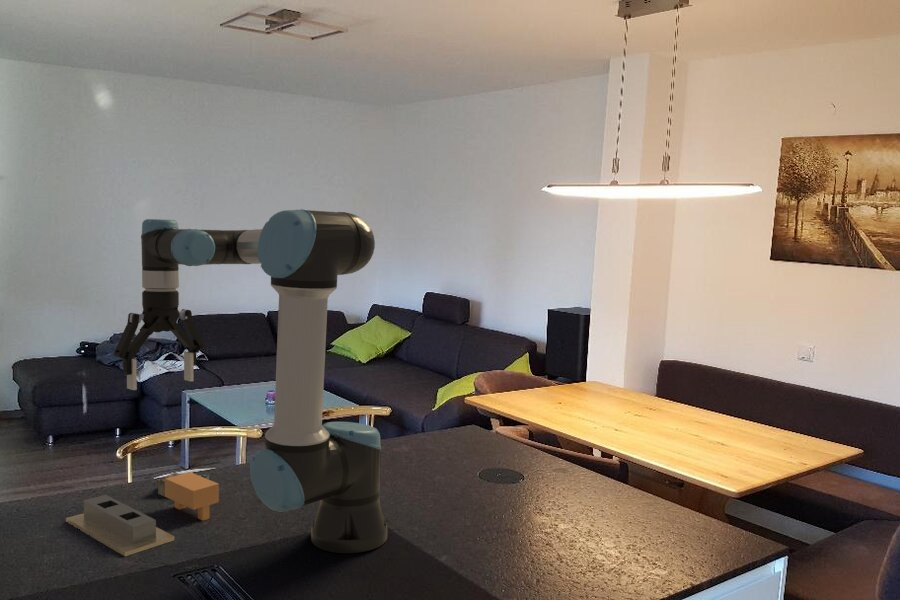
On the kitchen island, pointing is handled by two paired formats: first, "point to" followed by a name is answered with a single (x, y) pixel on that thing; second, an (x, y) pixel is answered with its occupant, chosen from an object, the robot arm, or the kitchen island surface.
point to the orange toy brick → (192, 493)
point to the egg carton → (162, 482)
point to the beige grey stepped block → (119, 526)
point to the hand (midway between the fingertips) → (161, 384)
